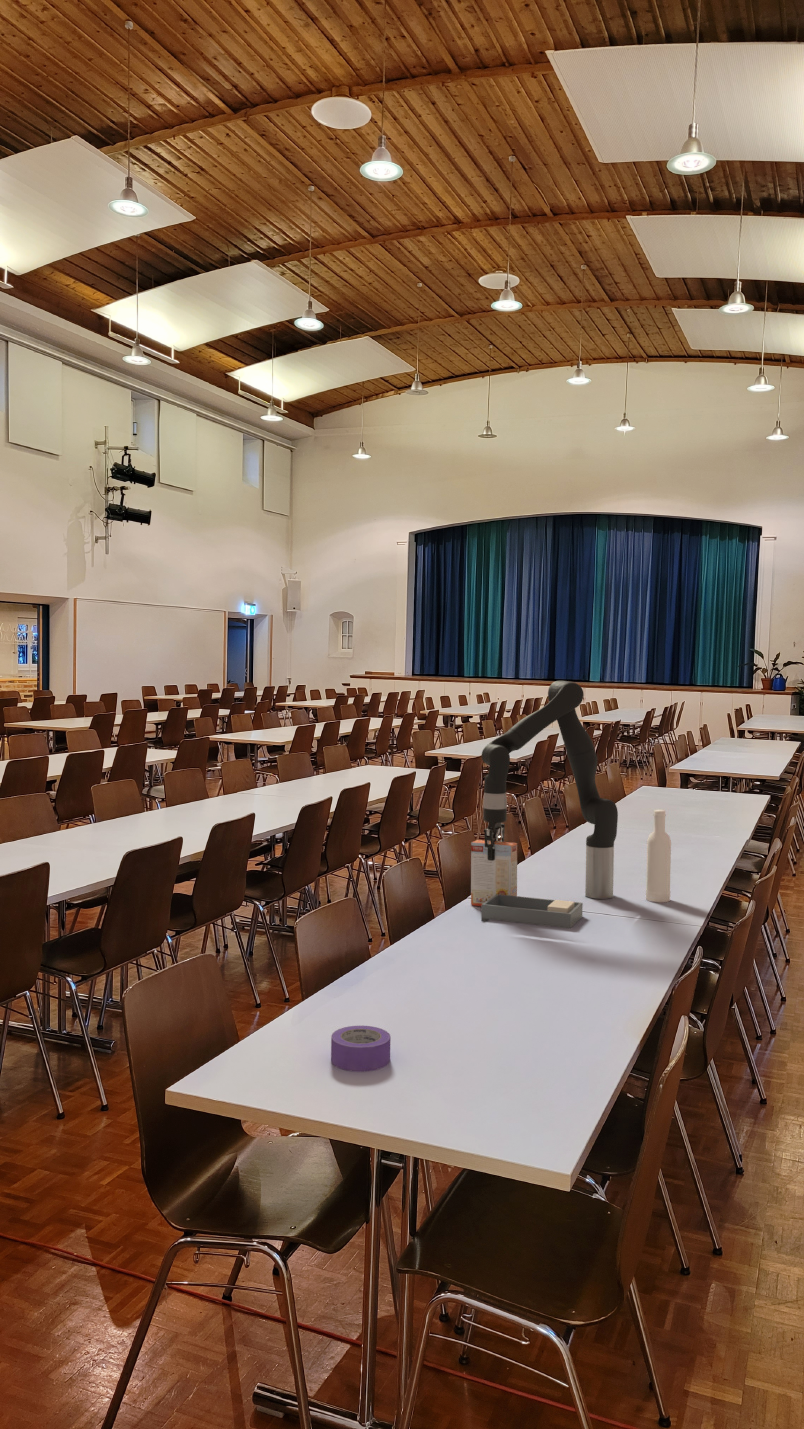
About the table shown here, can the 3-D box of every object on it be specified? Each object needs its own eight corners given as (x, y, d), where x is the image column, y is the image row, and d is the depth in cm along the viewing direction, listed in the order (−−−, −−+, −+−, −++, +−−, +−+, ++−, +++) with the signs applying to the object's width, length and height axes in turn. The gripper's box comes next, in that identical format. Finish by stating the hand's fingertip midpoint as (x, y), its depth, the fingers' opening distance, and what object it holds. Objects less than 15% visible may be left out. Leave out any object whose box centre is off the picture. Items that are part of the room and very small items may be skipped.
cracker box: (517, 906, 324) (518, 842, 322) (510, 910, 318) (511, 845, 317) (477, 901, 330) (478, 838, 329) (470, 905, 325) (470, 841, 324)
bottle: (668, 897, 337) (670, 808, 336) (672, 903, 330) (674, 812, 328) (644, 896, 338) (645, 808, 337) (647, 902, 330) (649, 811, 329)
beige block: (555, 915, 309) (555, 899, 309) (574, 918, 307) (574, 901, 306) (547, 922, 301) (547, 906, 300) (566, 925, 298) (567, 908, 298)
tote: (496, 909, 320) (496, 894, 319) (582, 918, 309) (582, 902, 308) (481, 920, 306) (481, 904, 306) (570, 930, 295) (570, 914, 295)
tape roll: (389, 1048, 205) (389, 1024, 205) (391, 1072, 194) (391, 1046, 193) (332, 1049, 205) (332, 1025, 205) (329, 1072, 193) (329, 1047, 193)
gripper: (499, 810, 314) (498, 863, 315) (512, 804, 328) (512, 855, 328) (476, 808, 317) (475, 861, 318) (491, 803, 331) (490, 853, 331)
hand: (494, 858), depth 323 cm, fingers closed on cracker box, 6 cm apart
